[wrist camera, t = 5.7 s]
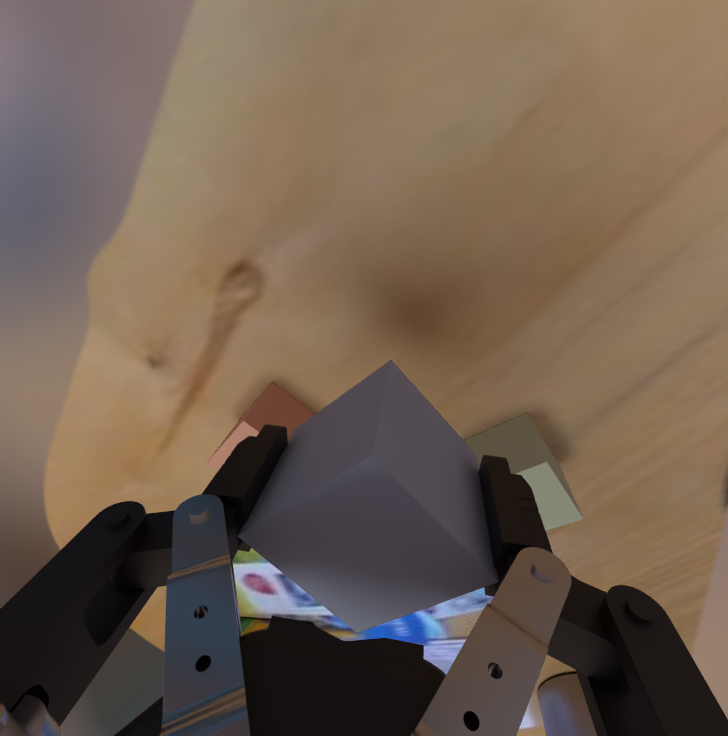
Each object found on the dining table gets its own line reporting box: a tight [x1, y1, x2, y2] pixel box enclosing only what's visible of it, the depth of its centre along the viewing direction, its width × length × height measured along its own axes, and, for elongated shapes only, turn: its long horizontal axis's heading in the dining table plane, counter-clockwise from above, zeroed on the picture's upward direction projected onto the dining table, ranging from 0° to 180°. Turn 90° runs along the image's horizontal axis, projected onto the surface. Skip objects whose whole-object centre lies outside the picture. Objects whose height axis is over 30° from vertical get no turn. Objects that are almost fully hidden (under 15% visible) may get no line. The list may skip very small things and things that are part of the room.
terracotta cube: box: [206, 382, 315, 472], centre depth 27 cm, size 5×5×5 cm
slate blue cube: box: [238, 360, 499, 633], centre depth 12 cm, size 5×5×5 cm
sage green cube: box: [464, 413, 583, 531], centre depth 25 cm, size 5×5×5 cm
